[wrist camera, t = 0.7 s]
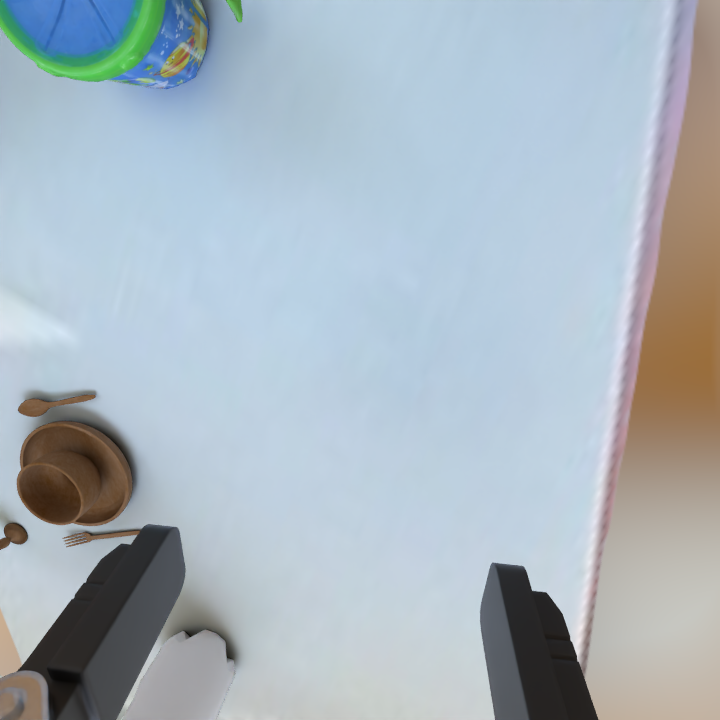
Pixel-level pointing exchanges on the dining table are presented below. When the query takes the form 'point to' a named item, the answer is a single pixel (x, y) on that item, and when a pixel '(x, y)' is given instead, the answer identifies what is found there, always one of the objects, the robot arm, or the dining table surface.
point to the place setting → (70, 475)
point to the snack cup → (112, 38)
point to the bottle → (184, 680)
